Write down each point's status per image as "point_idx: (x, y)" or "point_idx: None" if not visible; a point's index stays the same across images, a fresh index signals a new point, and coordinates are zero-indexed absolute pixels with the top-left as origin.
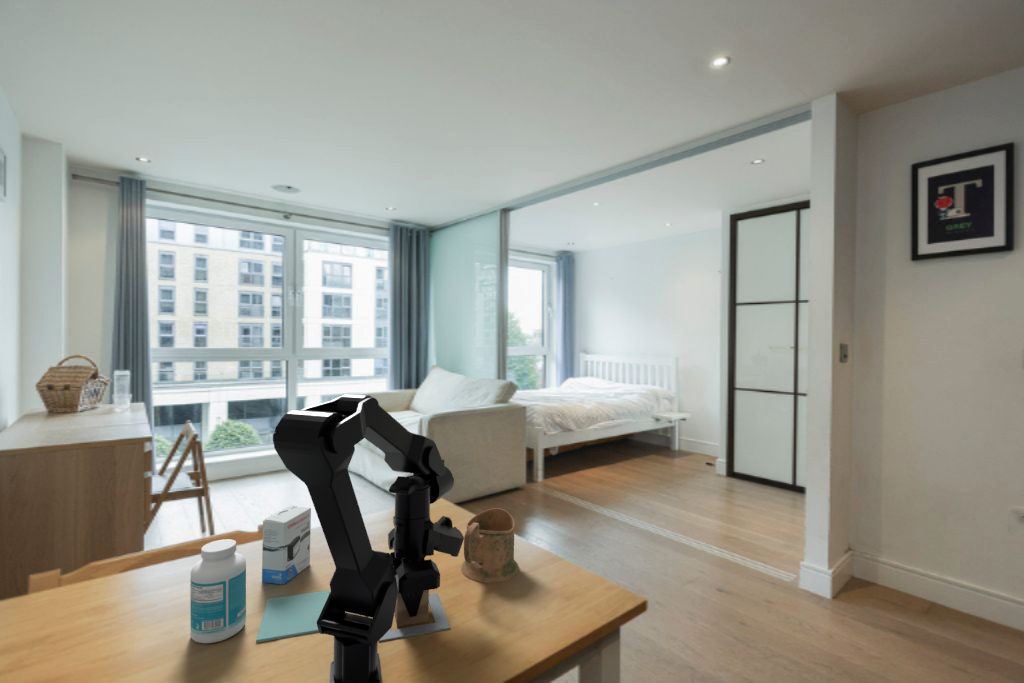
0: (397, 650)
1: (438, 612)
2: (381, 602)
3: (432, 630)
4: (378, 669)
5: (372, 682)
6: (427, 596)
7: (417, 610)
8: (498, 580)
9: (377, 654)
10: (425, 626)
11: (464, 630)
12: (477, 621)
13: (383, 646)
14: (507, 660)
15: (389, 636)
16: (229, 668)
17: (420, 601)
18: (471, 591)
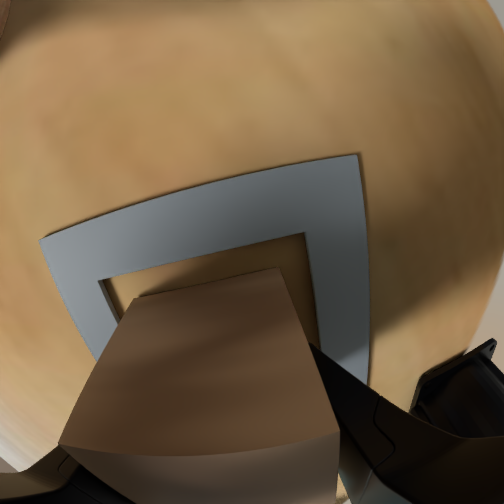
0: (415, 342)
1: (208, 220)
2: None
3: (366, 243)
4: (470, 359)
5: (489, 355)
6: (310, 358)
7: (326, 356)
8: (5, 5)
9: (428, 382)
10: (331, 277)
11: (363, 89)
12: (293, 22)
13: (383, 380)
14: (483, 25)
15: None
16: (342, 498)
17: (362, 383)
18: (28, 80)
